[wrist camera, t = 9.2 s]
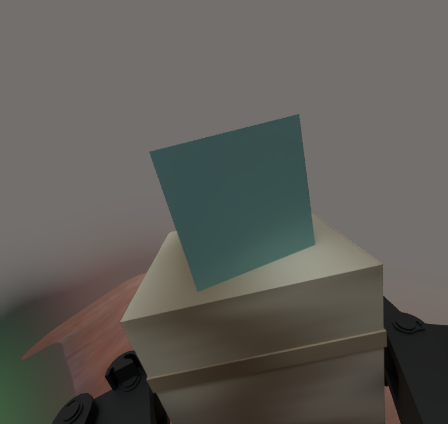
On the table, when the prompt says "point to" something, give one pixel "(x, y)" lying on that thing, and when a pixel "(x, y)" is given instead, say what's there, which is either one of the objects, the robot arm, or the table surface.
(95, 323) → the table surface
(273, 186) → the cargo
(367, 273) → the wooden block tower
